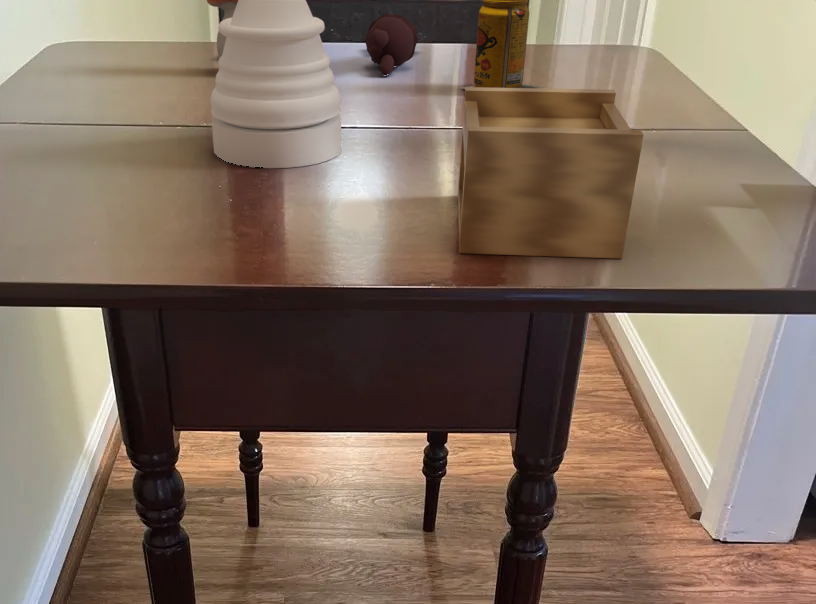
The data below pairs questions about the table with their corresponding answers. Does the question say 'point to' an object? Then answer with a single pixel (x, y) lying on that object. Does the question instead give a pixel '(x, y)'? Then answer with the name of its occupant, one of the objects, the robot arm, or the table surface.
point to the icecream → (391, 41)
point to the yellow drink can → (501, 44)
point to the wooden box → (545, 173)
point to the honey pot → (275, 88)
